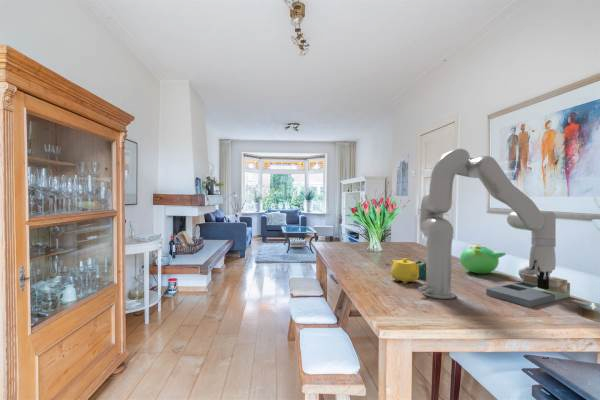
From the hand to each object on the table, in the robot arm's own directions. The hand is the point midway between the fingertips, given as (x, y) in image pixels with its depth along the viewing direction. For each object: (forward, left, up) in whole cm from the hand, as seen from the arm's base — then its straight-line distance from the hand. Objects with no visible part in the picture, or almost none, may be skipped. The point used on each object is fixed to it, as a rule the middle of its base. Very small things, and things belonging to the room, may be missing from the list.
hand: (543, 288), depth 122 cm
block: (+5, -2, -1) cm, 5 cm away
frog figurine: (+21, +17, -4) cm, 28 cm away
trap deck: (-3, +4, -4) cm, 6 cm away
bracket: (-12, +45, -4) cm, 47 cm away
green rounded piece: (+16, +37, -4) cm, 41 cm away
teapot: (-31, +42, -4) cm, 52 cm away
